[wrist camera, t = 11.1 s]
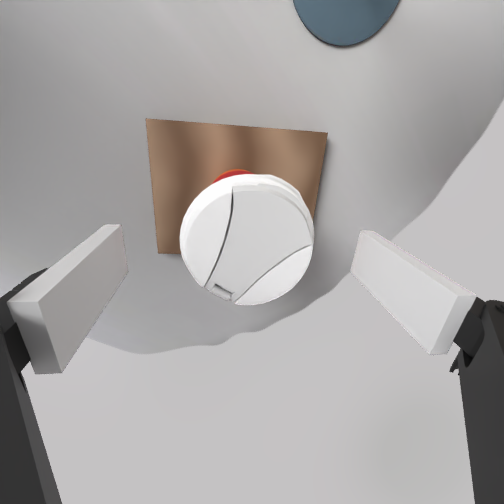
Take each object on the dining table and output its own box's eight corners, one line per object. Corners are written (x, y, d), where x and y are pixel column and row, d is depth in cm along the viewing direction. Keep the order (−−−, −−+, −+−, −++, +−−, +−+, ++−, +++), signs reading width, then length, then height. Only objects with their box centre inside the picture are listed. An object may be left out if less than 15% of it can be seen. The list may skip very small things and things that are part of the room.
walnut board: (161, 248, 31) (158, 253, 30) (149, 119, 25) (145, 118, 24) (303, 251, 33) (307, 255, 32) (322, 132, 28) (327, 132, 26)
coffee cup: (247, 244, 30) (267, 331, 17) (185, 208, 28) (149, 275, 14) (289, 185, 28) (353, 229, 14) (226, 138, 25) (229, 139, 12)
